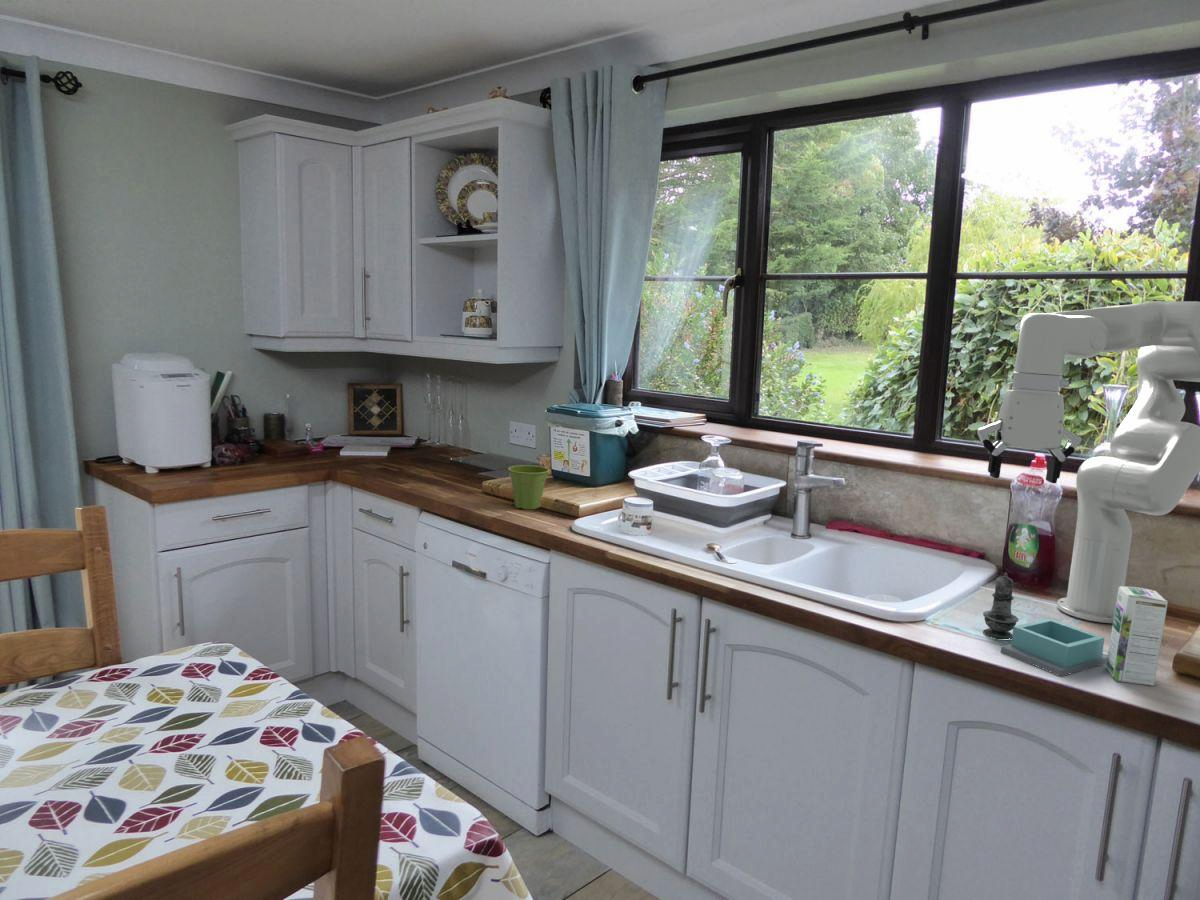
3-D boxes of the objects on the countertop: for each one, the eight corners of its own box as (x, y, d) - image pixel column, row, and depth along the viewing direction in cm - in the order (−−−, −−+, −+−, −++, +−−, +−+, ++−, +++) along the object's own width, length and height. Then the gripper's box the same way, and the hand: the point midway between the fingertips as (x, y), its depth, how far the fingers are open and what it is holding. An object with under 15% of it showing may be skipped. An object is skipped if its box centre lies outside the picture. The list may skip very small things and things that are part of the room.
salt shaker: (1005, 629, 157) (1013, 567, 155) (1022, 641, 151) (1030, 577, 149) (975, 628, 157) (982, 566, 155) (990, 640, 151) (998, 576, 149)
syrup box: (1104, 667, 141) (1116, 584, 138) (1144, 673, 139) (1157, 589, 137) (1114, 681, 135) (1126, 595, 133) (1156, 687, 134) (1169, 600, 131)
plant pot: (523, 513, 233) (524, 474, 231) (499, 505, 242) (500, 467, 240) (556, 508, 240) (558, 470, 239) (532, 500, 249) (533, 463, 247)
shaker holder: (1050, 639, 152) (1053, 615, 152) (1111, 662, 143) (1114, 637, 142) (1000, 651, 146) (1003, 627, 145) (1060, 676, 136) (1064, 650, 136)
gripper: (1079, 387, 150) (1065, 480, 153) (978, 379, 152) (966, 472, 155) (1097, 389, 143) (1082, 487, 145) (991, 381, 145) (978, 478, 147)
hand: (1022, 479), depth 150 cm, fingers open, 9 cm apart
